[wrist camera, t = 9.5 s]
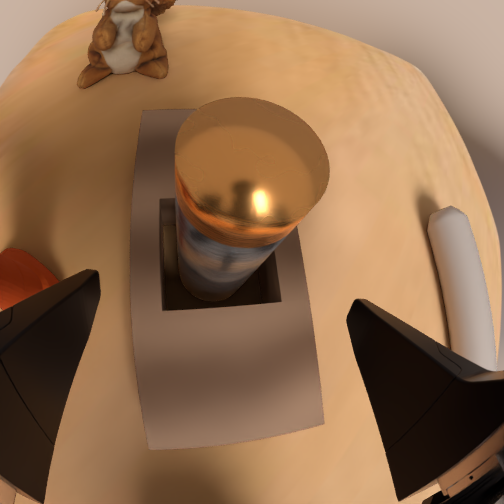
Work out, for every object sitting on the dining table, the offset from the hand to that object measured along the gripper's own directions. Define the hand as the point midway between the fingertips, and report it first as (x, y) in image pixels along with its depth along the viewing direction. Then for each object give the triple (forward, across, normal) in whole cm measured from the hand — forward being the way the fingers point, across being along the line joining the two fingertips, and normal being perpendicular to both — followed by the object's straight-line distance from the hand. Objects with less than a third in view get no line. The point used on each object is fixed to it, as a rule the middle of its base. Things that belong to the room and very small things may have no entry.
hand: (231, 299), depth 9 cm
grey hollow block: (+10, 0, +4) cm, 11 cm away
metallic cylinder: (+10, 0, +4) cm, 11 cm away
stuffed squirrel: (+27, +13, -12) cm, 32 cm away
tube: (+7, -25, +8) cm, 27 cm away
